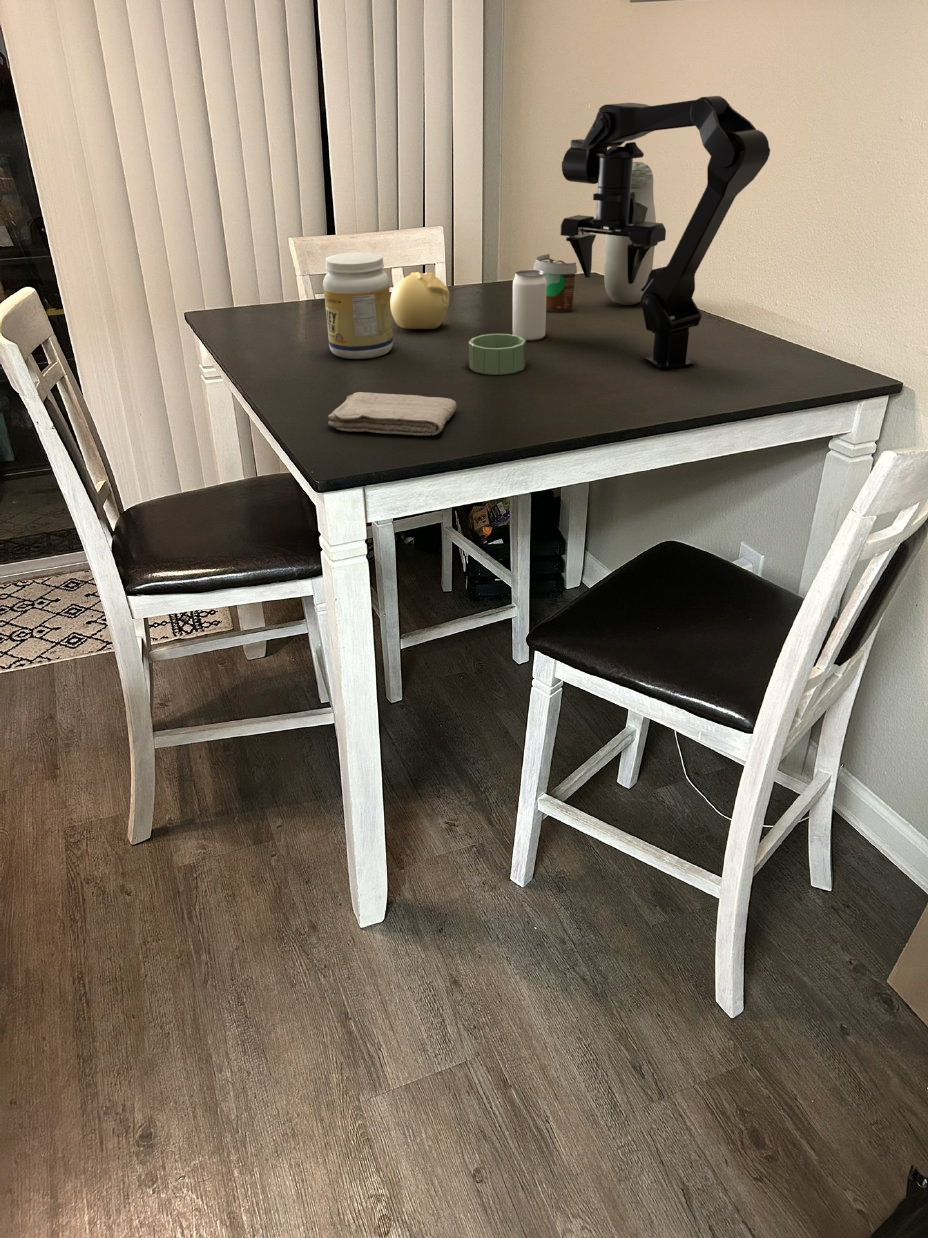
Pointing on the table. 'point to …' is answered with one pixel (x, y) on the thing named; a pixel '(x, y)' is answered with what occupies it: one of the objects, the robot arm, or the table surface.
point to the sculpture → (419, 301)
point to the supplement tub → (358, 305)
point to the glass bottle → (617, 245)
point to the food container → (557, 282)
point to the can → (529, 304)
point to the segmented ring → (497, 354)
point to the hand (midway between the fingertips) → (609, 280)
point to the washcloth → (393, 414)
